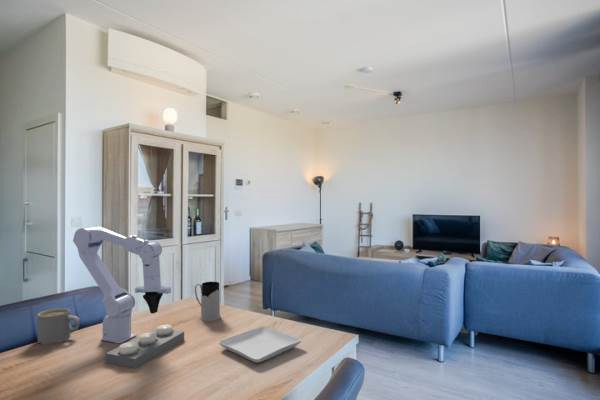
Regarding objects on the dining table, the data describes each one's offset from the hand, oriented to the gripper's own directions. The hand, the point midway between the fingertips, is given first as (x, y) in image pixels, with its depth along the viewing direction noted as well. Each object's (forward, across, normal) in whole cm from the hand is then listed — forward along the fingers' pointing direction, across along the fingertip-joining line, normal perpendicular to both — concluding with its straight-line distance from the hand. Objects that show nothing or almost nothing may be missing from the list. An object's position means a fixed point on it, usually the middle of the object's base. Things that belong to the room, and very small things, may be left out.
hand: (154, 312), depth 133 cm
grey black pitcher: (+11, -2, -30) cm, 32 cm away
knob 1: (+11, -3, +16) cm, 19 cm away
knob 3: (+11, -3, -1) cm, 11 cm away
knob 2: (+11, -3, +7) cm, 13 cm away
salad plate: (+14, -39, -7) cm, 42 cm away
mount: (+11, -3, +7) cm, 13 cm away
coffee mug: (+8, +35, +10) cm, 37 cm away
